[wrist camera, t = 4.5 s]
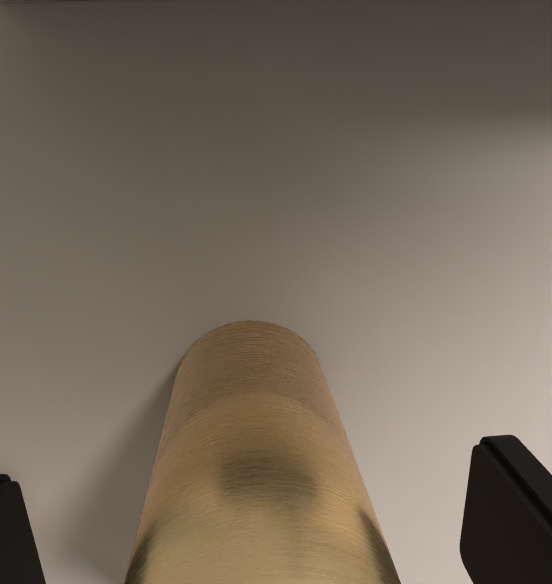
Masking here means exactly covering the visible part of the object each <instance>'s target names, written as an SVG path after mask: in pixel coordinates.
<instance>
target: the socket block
mask: <svg viewBox="0 0 552 584" xmlns="http://www.w3.org/2000/svg"><path fill="white" fill-rule="evenodd" d="M0 1H76V0H0Z"/></svg>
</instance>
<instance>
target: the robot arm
mask: <svg viewBox="0 0 552 584" xmlns="http://www.w3.org/2000/svg"><path fill="white" fill-rule="evenodd" d="M460 554H461V558H462V561H463V564H464V566H465V568H466V570H467V572H468V574H469V576H470V578H471V580H472V582H473V584H552V475H551V474H550V473H549V471H548V470H547V469H546V468H545V467H544V466H543V465H542V464H541V463H540V462H539V461H538V460H537V459H536V458H535V456H534V455H533V454H532V453H531V452H530V451H529V450H528V449H527V448H526V447H525V446H524V445H523V444H522V442H521V441H520V440H519V439H518V438H516V437H515V436H513V435H501V436H488V437H483V438H482V439H481V440H480V444H479V445H475V446H474V447H473V450H472V456H471V464H470V471H469V479H468V486H467V494H466V501H465V509H464V516H463V524H462V531H461V539H460ZM0 584H46V582H45V578H44V575H43V571H42V567H41V563H40V560H39V556H38V552H37V548H36V545H35V541H34V537H33V533H32V530H31V526H30V522H29V518H28V515H27V511H26V507H25V503H24V500H23V496H22V492H21V488H20V485H19V483H18V482H16V481H11V479H10V477H9V476H8V475H7V474H0Z"/></svg>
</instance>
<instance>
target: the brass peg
mask: <svg viewBox="0 0 552 584" xmlns="http://www.w3.org/2000/svg"><path fill="white" fill-rule="evenodd" d="M124 584H401V582H400V580H399V577H398V574H397V572H396V569H395V566H394V563H393V561H392V558H391V555H390V553H389V550H388V547H387V544H386V542H385V539H384V536H383V534H382V531H381V528H380V525H379V523H378V520H377V517H376V515H375V512H374V509H373V506H372V504H371V501H370V498H369V496H368V493H367V490H366V487H365V485H364V482H363V479H362V477H361V474H360V471H359V468H358V466H357V463H356V460H355V458H354V455H353V452H352V449H351V447H350V444H349V441H348V439H347V436H346V433H345V430H344V428H343V425H342V422H341V420H340V417H339V414H338V411H337V409H336V406H335V403H334V401H333V398H332V395H331V392H330V390H329V387H328V384H327V382H326V379H325V376H324V373H323V371H322V368H321V365H320V363H319V360H318V358H317V356H316V355H315V353H314V351H313V350H312V349H311V348H310V346H309V345H308V344H307V343H306V342H305V341H304V340H303V339H302V338H300V337H299V336H298V335H296V334H295V333H293V332H291V331H290V330H288V329H286V328H283V327H281V326H278V325H275V324H271V323H267V322H260V321H244V322H236V323H232V324H228V325H225V326H222V327H219V328H217V329H215V330H213V331H211V332H209V333H207V334H206V335H205V336H203V337H202V338H200V339H199V340H198V341H197V342H196V343H195V344H194V345H193V346H192V347H191V348H190V349H189V350H188V352H187V353H186V354H185V356H184V358H183V359H182V361H181V363H180V366H179V368H178V371H177V375H176V378H175V382H174V386H173V390H172V394H171V398H170V402H169V406H168V410H167V414H166V418H165V422H164V426H163V430H162V434H161V438H160V442H159V446H158V450H157V454H156V458H155V462H154V466H153V470H152V474H151V478H150V482H149V486H148V490H147V494H146V498H145V502H144V506H143V510H142V514H141V518H140V522H139V526H138V530H137V534H136V538H135V542H134V546H133V550H132V554H131V558H130V562H129V566H128V570H127V574H126V578H125V582H124Z"/></svg>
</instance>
